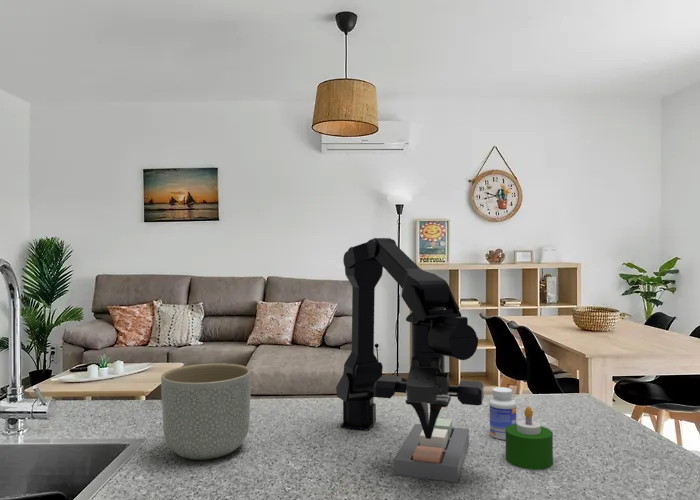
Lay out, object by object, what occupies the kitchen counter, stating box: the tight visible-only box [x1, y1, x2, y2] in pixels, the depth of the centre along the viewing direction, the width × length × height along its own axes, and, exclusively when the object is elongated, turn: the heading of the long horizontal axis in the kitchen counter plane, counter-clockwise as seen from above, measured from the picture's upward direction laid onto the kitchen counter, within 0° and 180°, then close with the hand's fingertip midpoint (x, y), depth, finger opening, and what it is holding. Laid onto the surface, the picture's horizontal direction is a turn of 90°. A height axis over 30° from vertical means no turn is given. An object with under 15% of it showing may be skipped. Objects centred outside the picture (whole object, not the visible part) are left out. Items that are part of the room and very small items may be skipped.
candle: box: [505, 406, 554, 471], centre depth 99 cm, size 8×8×10 cm
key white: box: [420, 428, 448, 450], centre depth 101 cm, size 5×5×2 cm
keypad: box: [392, 423, 470, 484], centre depth 101 cm, size 11×20×3 cm, turn 162°
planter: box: [160, 362, 252, 461], centre depth 105 cm, size 17×17×15 cm
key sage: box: [434, 417, 453, 438], centre depth 107 cm, size 5×5×2 cm
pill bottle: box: [488, 386, 517, 441], centre depth 112 cm, size 5×5×10 cm
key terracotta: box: [413, 446, 443, 463], centre depth 95 cm, size 5×5×2 cm
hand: (428, 438), depth 94 cm, fingers closed
